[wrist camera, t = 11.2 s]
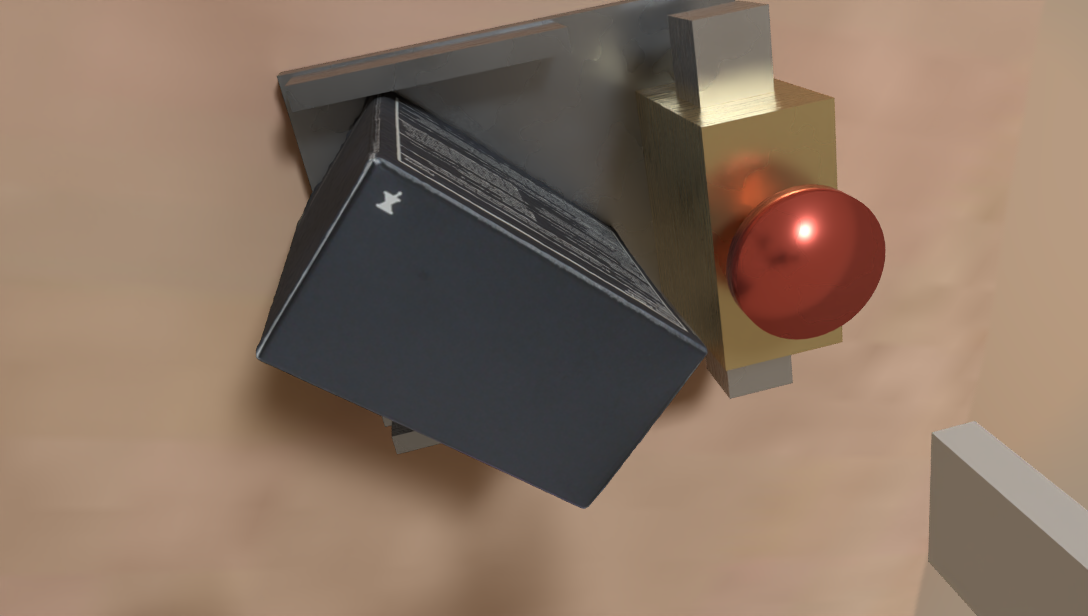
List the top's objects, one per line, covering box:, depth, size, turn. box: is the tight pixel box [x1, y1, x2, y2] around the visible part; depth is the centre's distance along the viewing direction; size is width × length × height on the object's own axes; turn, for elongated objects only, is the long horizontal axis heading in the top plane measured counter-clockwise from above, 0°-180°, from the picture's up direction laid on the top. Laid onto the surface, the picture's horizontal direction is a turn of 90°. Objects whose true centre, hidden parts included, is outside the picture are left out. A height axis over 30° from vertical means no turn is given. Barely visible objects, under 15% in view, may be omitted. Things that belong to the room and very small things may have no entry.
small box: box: [256, 91, 708, 509], centre depth 26 cm, size 11×6×10 cm, turn 56°
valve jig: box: [277, 0, 885, 454], centre depth 27 cm, size 16×14×10 cm
